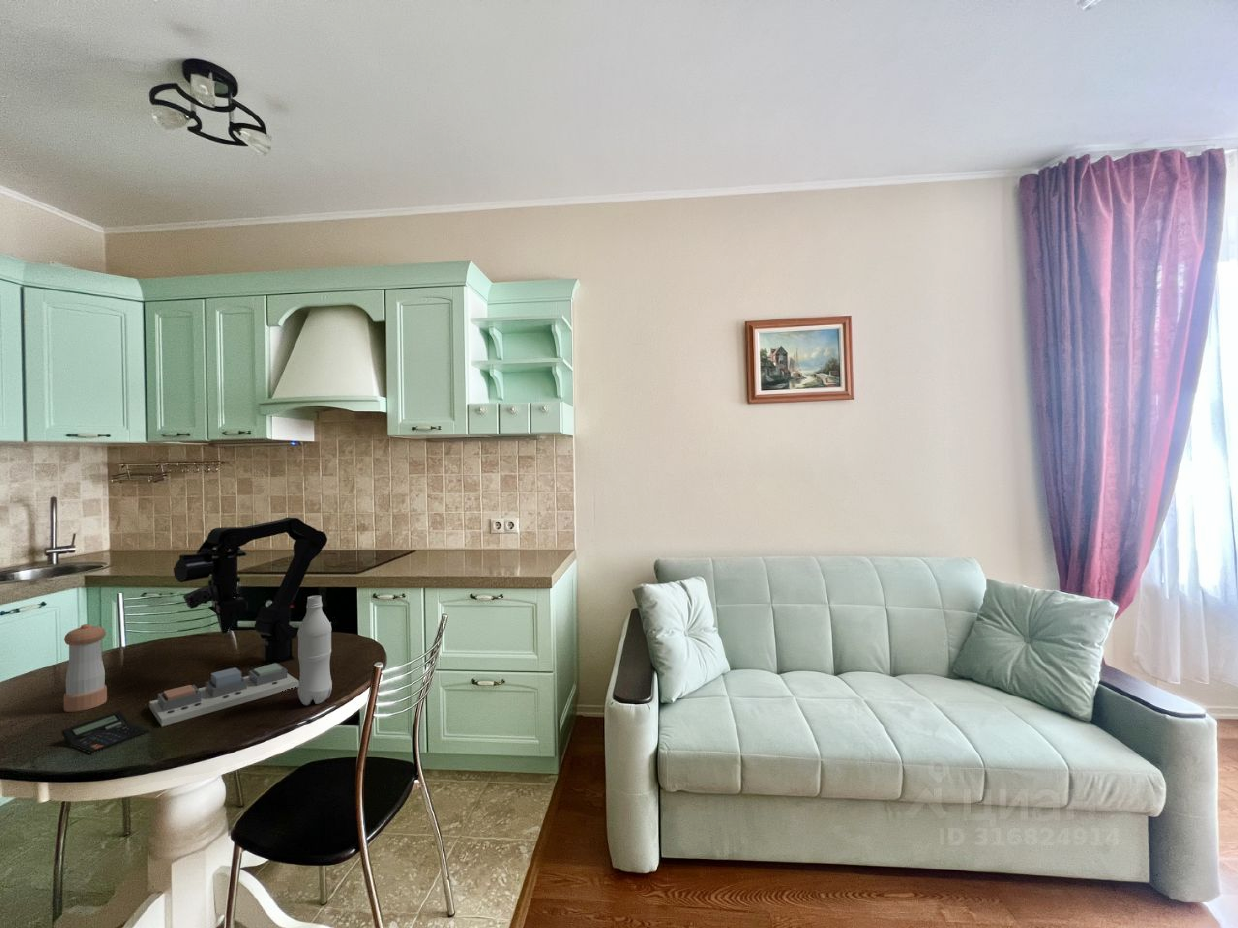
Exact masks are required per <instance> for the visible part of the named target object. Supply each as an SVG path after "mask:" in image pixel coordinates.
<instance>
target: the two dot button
mask: <svg viewBox="0 0 1238 928" xmlns="http://www.w3.org/2000/svg"><path fill="white" fill-rule="evenodd" d="M241 676H242V671H241V670H239V669H238V668H237V667H231V668H226V669H223V670H219V671H215V672H214V671H213V672H211V673H210V681H211V684H212V685H213V686H214V687H215V688H217V687H221V686H225V685H229V684H232V683H236V682H240V681H241Z"/></svg>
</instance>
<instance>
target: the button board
mask: <svg viewBox="0 0 1238 928" xmlns="http://www.w3.org/2000/svg"><path fill="white" fill-rule="evenodd" d="M276 664H277V665H279V666H280V667H282V671H278V672H274V673H270V674H267V675H263V676H257V675H256V674H255V673H254V669H251V670H248V675H246V676H242V675H241V681H240V682H236V683H232V684H229V685H225V686H221V687H217V688H215V687H214V686H213V685H212V684H211V680H209V681H205V686H203V687H201V688H198V687H197V686H196V685H195V684H193V685H192V684H191V686H192V687H193V688H194V689H195V690H196V693H194V694H191V695H187V696H183V697H179V698H175V699H172V700H168V701H166V700H165V699H164V692H161V693H160V692H159V693H157V699H155V700H149V701H148V702H149V710H150V711H151V713H152V714H153V716H154V717H155V718H156V720H157V721H158V724H160V726H161V727H165V726H168V725H172V724H176V723H179V722H182V721H186V720H190V719H193V718H196V717H199V716H203V715H206V714H209V713H213V712H217V711H220V710H224V709H227V708H230V707H234V706H237V705H240V704H244V703H247V702H251V701H254V700H258V699H262V698H265V697H268V696H272V695H275V694H278V693H281V692H282V691H283V692H286V691H288V690H287V689H290V690H292V689H291V688H293V689H296V688H298V686H299V680H298V679H297V678H295V677H294V676H293V675H291V674H290V673H288V669H287V668H286V667H284V666H282V665H281V664H280V663H276ZM295 687H296V688H295ZM285 690H286V691H285Z"/></svg>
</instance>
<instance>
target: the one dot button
mask: <svg viewBox="0 0 1238 928" xmlns="http://www.w3.org/2000/svg"><path fill="white" fill-rule="evenodd" d="M277 664H278V663H275V664H267V665H264V666H260V667H255V668H253V670H254V673H255V674H256V675H257V676H263V675H267V674H270V673H274V672H278V671H282V667H280V666H279V665H277Z"/></svg>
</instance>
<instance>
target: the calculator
mask: <svg viewBox="0 0 1238 928" xmlns="http://www.w3.org/2000/svg"><path fill="white" fill-rule="evenodd" d="M149 732H150V730H149V729H147V728H144V727H140V726H138V725H135V724H131V723H130V722H129V721H128V720H127V719H126V718H125V716H124V714H122V712H121V710H118V711H116V712H115V711H114V712H111V713H109V714H106V715H103V716H100V717H97V718H94V719H91V720H89V721H84V722H82V723H80V724H77V725H74V726H70V727H68V728H65V729H62V730H61V735H62V737H63V738H64V739H65V741H66V743H68V745H69V746H70V745H72V746H75V747H77V748H80V749H82V750H85V751H86V752H85V753H87V752H90V753H94V752H97V751H100V750H102V751H104V750H103V749H105V750H107V749H109V747H110V748H112V747H111V746H113V747H115V746H117V744H118V745H120V744H122V742H123V743H125V742H124V741H126V742H128V741H130V740H129V739H131V740H132V738H133V739H135V737H136V738H138V737H141V736H143V735H146V734H149ZM127 740H128V741H127ZM119 743H120V744H119ZM114 745H115V746H114ZM106 748H107V749H106ZM100 752H101V751H100ZM97 753H98V752H97ZM94 754H95V753H94Z"/></svg>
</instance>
